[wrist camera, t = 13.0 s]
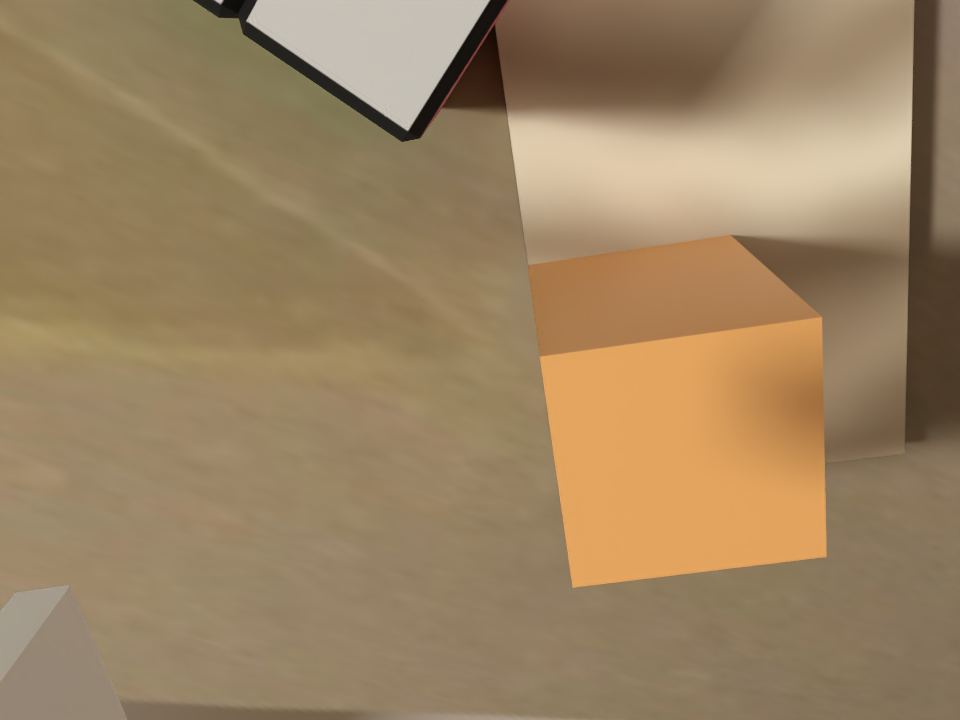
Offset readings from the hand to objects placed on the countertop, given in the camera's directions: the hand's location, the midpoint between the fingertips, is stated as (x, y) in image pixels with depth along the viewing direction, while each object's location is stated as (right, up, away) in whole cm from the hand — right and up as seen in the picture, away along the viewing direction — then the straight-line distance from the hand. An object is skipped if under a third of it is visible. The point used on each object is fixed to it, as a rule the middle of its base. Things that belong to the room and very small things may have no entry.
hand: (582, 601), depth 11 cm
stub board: (+7, +7, +20) cm, 22 cm away
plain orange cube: (+4, +4, +20) cm, 21 cm away
